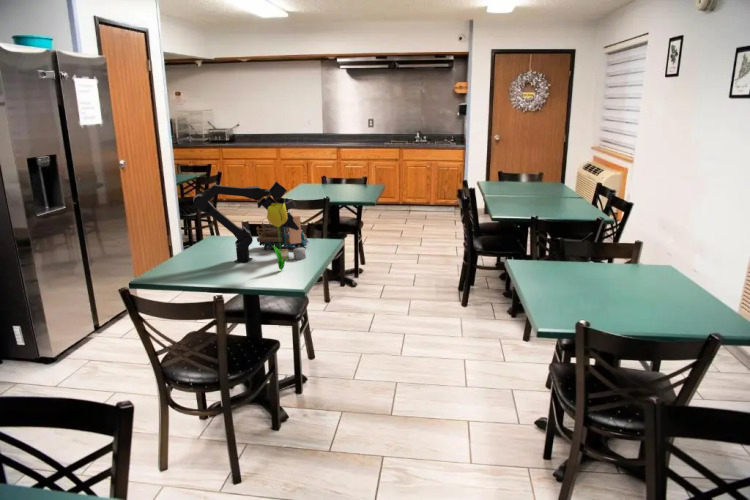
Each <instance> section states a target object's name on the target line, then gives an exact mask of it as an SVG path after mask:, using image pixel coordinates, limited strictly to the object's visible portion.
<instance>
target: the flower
mask: <svg viewBox="0 0 750 500" xmlns="http://www.w3.org/2000/svg"><path fill="white" fill-rule="evenodd" d="M282 204H283V203H280V204H279V202H277V204H275V203H272V204H271V205H270V206H268V210H267V209H266V211H267V215H266V219H267V221H268V222H269V223H271V224H270V225H274V226H273V227H278V232H279V231H280V230H279V227H280V226H281V225H282V224H284V223H285V222H286V221H287V219H288V217H287V213H288V212H287V210H286V207H285V204H283V205H282ZM281 227H282V226H281ZM279 240H280V232H279ZM271 248H272V249H274V252H275V255H276V257H277V264H278V266H277V267H278V269H279V270H280V271H281V272H283V269H284V267H285V263H286V261H285V260H286V258H287V257H288V256H287V257H286V258H285V259H284V260H282V256H281V254H280V253H281V249H282V247H281V244H280V247H275V245H274V246H272V247H271ZM279 249H280V251H279Z"/></svg>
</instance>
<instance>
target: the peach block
mask: <svg viewBox="0 0 750 500" xmlns="http://www.w3.org/2000/svg"><path fill="white" fill-rule="evenodd" d="M291 215H292V216H293V221H294V223H295V224H296V225H297V226H298V228H299V230H295V229H292V228H289V229H288V231H289V242H290V243H291V244H294V243H301V230H302V228H301V223H302V222H301V215H300V213H299V214H291Z"/></svg>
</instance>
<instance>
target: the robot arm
mask: <svg viewBox="0 0 750 500" xmlns="http://www.w3.org/2000/svg"><path fill="white" fill-rule="evenodd" d="M287 192H288V190H287V189H286V188H285V186H283V185H282V184H280V183H279V182H278V181H277V180H275V181H274V183H273V184H272V185H271V187H270V188H269V189H268V188H261V186H258V185H255V186H254V185H253V186H252V185H251V186H246V187H243V186H231V185H222V184H221V185H220V184H216V183H215V184H212V185H210V187H209V188H207V189H206V190H204V191H203V192H201V193H198V194H196V195H195V196H193V201H192V202H193V203H192V204H193V206H194V207H195V208H196V209H197V210H199V211H201V212H204V213H205V214H207V215H209V216H210V217H212V218H213V219H214V220H216V221H217V222H218V223H219V224H221V225H222V226H223V227H224V228H225V229H227V231H228V232H230V233H232V234H233V236H234V237H235V238H236V239H237V240H235V242H234V244H235V250H236V252H235V253H236V259H235V260H234V263H248V262H250V261H252V260H253V257H250V250H249V248H250V245H251V244H252V243H253V242H254V238H253V236H252V233H251V231H250V230H249V229H247V228H246V227H245V226H244V225H243V226H242V227H240V226H238V225H237V224H235V223H234V222H233V221H232V220H231V219H229V218H228V217H227V216H226V215H225V214H223V213H222V212H221V211H220V210H218V209H217V208H216V207H215V206H214V205H213V204H212V203H211V200H212V199H213V198H214V197H215V196H216V195H224V196H225V195H226V196H235V197H244V198H247V199H250V200H254V201H256V204H257V205H256V206H257V208H258V209H260V208H261V206H262V207H263V208H264V209H265V210H266V211H267V210H268V206H270V205H271V204H272V203H275V204H277V203H279V202H277V200H281V198H283V196H284V195H285V194H286V193H287ZM279 204H280V203H279ZM283 204H285V207H286V210H287V217H288V219H287V221H286V222H285V223H284V224H282V226H284V227H285V226H286V227H287V228H288V227H289V228H292V229H295V230H299V228H298V226H297V225H296V224H295V223H294V221H293V216H292V215H293V214H291V212H290V211H289V210H291V209H293V208H295V207H296V206H297V205H296V203H295V202H294V200H293V199H292V198H290V199H289V198H284V200H283V203H282V205H283ZM282 226H281V227H282Z"/></svg>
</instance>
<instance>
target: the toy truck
mask: <svg viewBox="0 0 750 500" xmlns="http://www.w3.org/2000/svg"><path fill="white" fill-rule="evenodd" d="M260 227H261V228H259V226H257V227H256V229H255V230H256V234H257V235H258V236H257V237H256V242H257V243H258V245H259V247H260V246H261V247H262V246H263V247H264V250H266V251H270V250H271V249H272V248H273V247H272V246H275V247H277V248H280V244H281V248H291V247H295V248H305V247H308V245H309V244H310V240H309V239H307V235H306V234H305V232H303V229H301V243H294V244H291V243H290V242H289V227H286V226H285V227H284V226H282V225H281V226H280V227H279V232H280V240H279V232H278V227H276V226H274V225H273V224H271V223H270V222H269V223H268V224H266V225H265V224H264V223H263V222H262V223H261V225H260Z"/></svg>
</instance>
